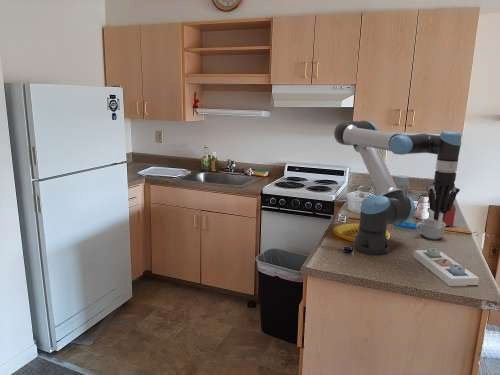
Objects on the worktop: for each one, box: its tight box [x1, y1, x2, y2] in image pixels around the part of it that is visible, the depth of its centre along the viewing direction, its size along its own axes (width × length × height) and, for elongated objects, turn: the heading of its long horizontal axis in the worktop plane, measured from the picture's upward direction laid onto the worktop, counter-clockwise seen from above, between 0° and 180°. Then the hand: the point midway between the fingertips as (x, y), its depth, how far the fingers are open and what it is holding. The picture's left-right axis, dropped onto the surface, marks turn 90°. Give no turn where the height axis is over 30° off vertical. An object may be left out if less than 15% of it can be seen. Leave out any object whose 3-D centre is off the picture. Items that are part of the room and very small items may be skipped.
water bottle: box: [394, 174, 411, 197], centre depth 211 cm, size 9×8×25 cm
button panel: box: [413, 249, 480, 287], centre depth 153 cm, size 11×26×3 cm, turn 6°
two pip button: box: [449, 264, 466, 276], centre depth 145 cm, size 5×5×3 cm
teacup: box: [415, 218, 446, 240], centre depth 189 cm, size 14×11×8 cm
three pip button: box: [437, 259, 452, 267], centre depth 153 cm, size 5×5×3 cm
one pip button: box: [426, 247, 440, 258], centre depth 160 cm, size 5×5×3 cm
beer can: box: [442, 203, 456, 227], centre depth 207 cm, size 7×7×12 cm
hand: (437, 227), depth 157 cm, fingers closed
